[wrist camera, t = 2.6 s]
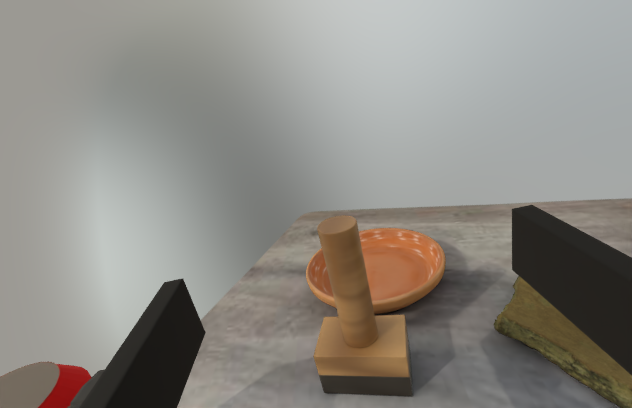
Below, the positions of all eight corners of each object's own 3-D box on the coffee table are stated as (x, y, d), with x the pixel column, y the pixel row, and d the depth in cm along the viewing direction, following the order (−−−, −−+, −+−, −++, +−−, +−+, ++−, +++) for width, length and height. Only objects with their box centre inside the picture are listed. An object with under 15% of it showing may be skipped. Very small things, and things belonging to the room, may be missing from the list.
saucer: (315, 255, 48) (310, 237, 47) (427, 237, 46) (425, 218, 45) (304, 337, 33) (298, 313, 32) (469, 316, 31) (467, 290, 30)
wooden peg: (410, 350, 29) (387, 205, 24) (412, 396, 25) (386, 234, 20) (332, 350, 31) (297, 215, 26) (324, 393, 27) (280, 243, 22)
